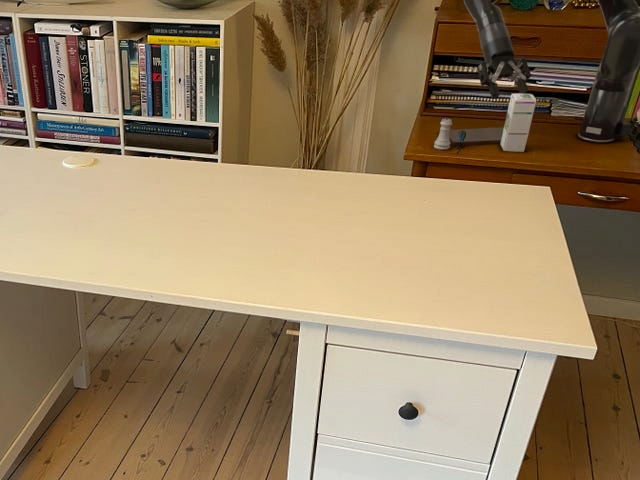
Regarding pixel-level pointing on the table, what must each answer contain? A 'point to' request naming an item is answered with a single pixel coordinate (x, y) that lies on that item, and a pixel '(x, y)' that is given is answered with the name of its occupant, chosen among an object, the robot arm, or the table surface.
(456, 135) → the grey rectangular panel
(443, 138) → the rook chess piece
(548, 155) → the table surface
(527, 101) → the syrup box
